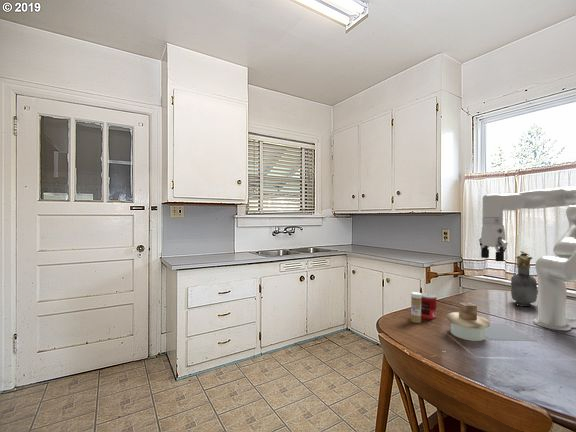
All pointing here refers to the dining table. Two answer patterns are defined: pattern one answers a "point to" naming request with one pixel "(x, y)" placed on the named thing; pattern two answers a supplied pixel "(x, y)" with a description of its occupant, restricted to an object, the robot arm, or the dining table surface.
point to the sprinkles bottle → (416, 307)
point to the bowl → (468, 332)
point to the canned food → (428, 306)
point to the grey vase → (523, 282)
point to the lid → (468, 317)
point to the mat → (505, 333)
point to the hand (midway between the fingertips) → (492, 259)
